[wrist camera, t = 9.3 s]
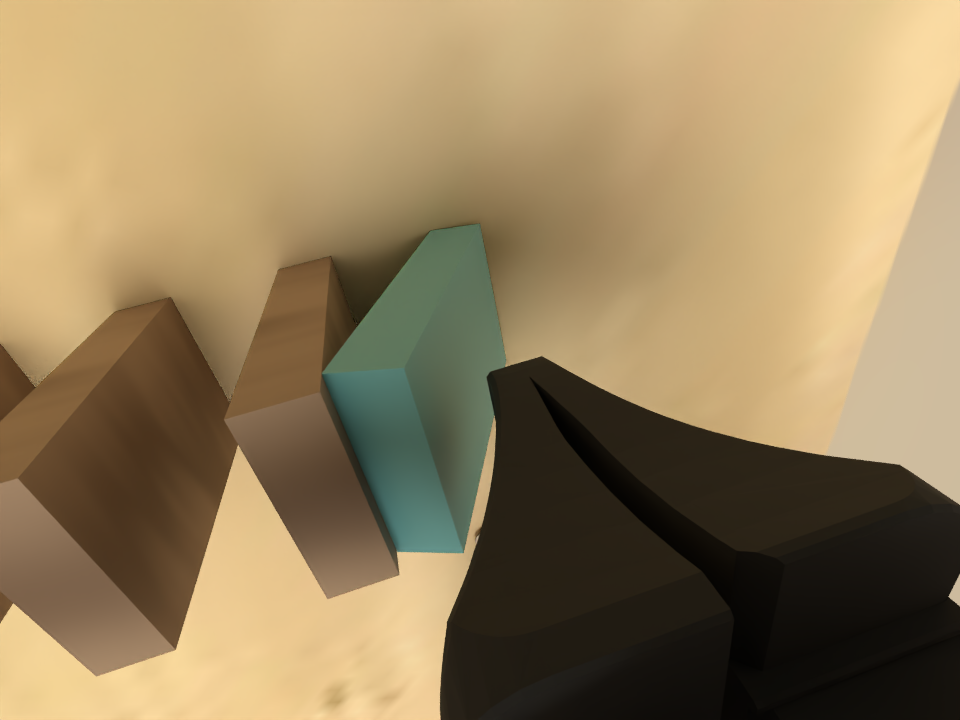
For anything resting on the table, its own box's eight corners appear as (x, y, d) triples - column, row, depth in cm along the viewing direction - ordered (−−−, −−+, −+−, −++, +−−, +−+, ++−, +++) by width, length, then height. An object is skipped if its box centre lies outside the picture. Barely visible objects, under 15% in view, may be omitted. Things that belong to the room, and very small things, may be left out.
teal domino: (506, 360, 18) (463, 553, 11) (463, 363, 18) (397, 551, 11) (480, 223, 15) (403, 368, 9) (430, 230, 16) (321, 373, 9)
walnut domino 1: (243, 427, 17) (175, 649, 10) (196, 441, 17) (96, 676, 10) (170, 297, 15) (17, 478, 8) (114, 311, 14) (-92, 509, 8)
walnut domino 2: (377, 388, 18) (399, 574, 11) (334, 401, 18) (327, 598, 11) (330, 256, 15) (319, 391, 8) (278, 269, 15) (224, 419, 8)
